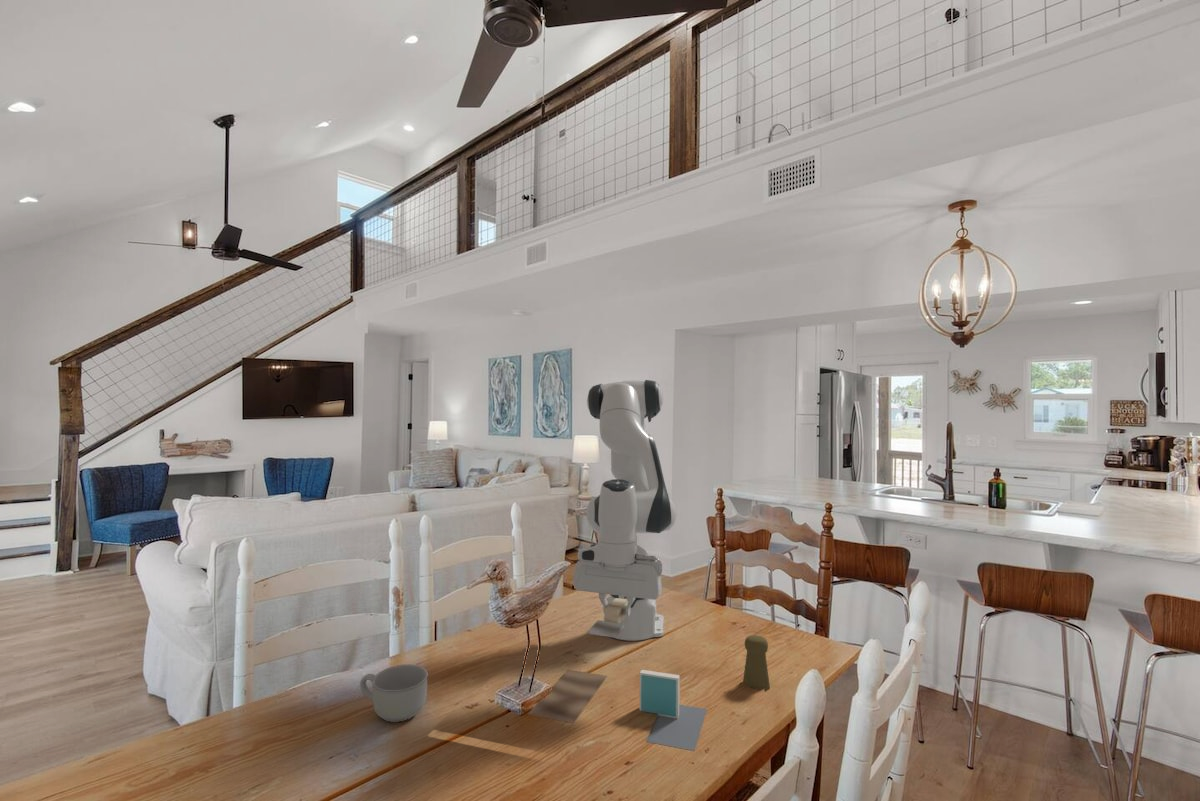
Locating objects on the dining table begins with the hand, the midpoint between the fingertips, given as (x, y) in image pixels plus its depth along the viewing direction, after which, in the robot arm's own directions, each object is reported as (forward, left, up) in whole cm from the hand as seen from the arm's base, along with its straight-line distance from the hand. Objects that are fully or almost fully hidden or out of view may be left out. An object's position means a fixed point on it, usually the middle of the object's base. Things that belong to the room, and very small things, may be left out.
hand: (616, 613), depth 133 cm
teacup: (+26, -40, -17) cm, 51 cm away
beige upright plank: (+3, 0, -1) cm, 3 cm away
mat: (+12, +12, -17) cm, 24 cm away
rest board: (+8, -8, -17) cm, 20 cm away
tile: (+9, +12, -16) cm, 22 cm away
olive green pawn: (-12, +30, -17) cm, 36 cm away
